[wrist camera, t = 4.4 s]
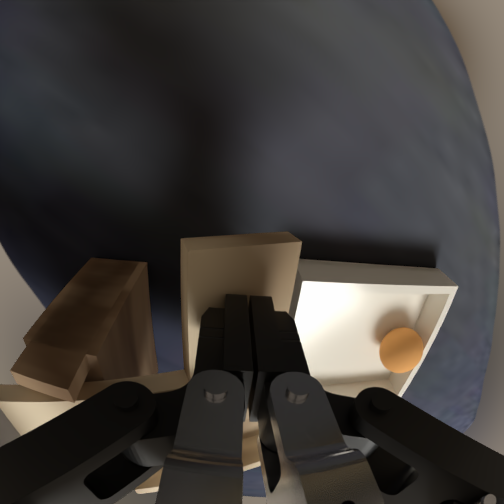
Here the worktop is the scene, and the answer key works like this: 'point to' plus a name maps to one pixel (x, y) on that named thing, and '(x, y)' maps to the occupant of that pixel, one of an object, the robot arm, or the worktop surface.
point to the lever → (184, 326)
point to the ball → (401, 350)
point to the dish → (364, 319)
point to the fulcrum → (91, 331)
